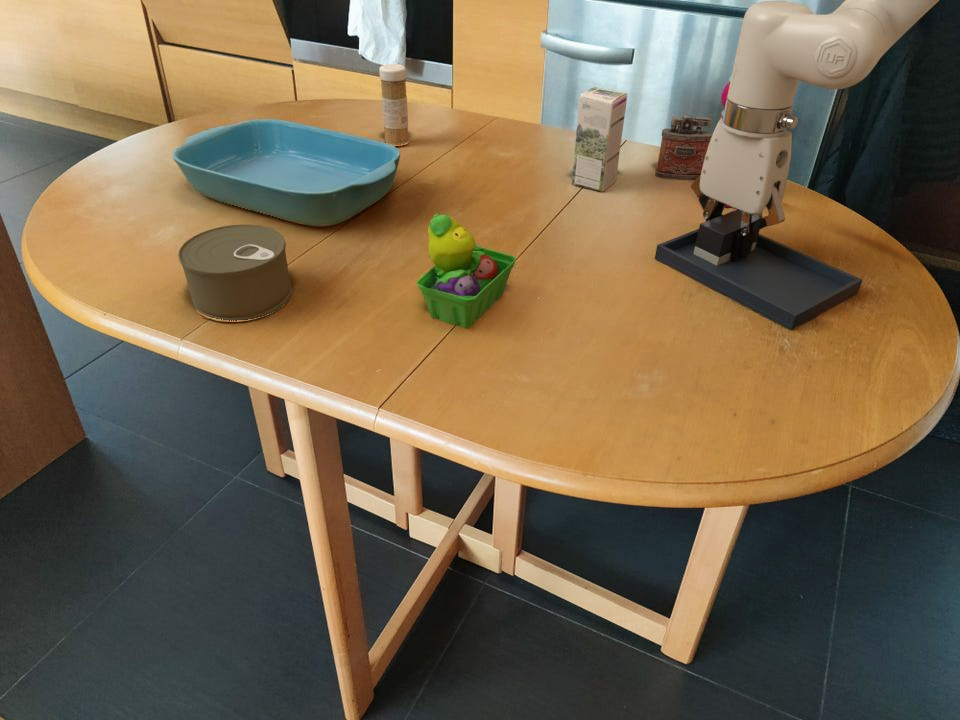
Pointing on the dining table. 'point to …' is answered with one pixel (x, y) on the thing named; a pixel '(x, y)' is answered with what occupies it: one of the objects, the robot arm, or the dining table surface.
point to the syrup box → (598, 138)
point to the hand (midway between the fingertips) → (724, 250)
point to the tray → (766, 279)
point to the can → (236, 271)
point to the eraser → (719, 238)
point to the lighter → (683, 148)
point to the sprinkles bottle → (394, 103)
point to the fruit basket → (461, 274)
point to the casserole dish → (289, 169)
